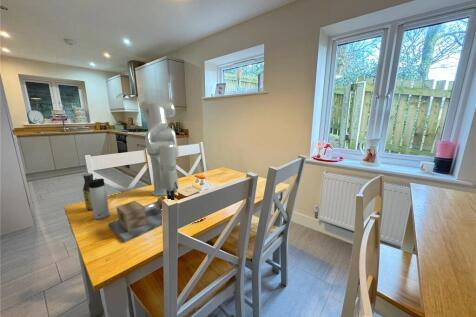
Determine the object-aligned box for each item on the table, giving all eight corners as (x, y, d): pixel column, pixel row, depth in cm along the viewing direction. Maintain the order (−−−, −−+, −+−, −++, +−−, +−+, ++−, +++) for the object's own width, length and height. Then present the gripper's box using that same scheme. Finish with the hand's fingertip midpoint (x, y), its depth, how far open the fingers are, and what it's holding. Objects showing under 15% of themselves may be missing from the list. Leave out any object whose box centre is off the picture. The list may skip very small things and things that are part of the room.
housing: (158, 207, 107) (156, 190, 104) (176, 218, 96) (175, 199, 93) (108, 226, 88) (105, 206, 86) (124, 242, 77) (121, 220, 75)
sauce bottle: (85, 208, 105) (79, 173, 101) (99, 205, 110) (93, 171, 105) (87, 212, 101) (80, 176, 96) (101, 208, 105) (96, 174, 101)
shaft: (161, 205, 101) (160, 195, 100) (167, 209, 98) (166, 198, 96) (132, 216, 90) (131, 204, 89) (138, 220, 87) (137, 208, 85)
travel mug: (102, 221, 93) (95, 181, 89) (91, 219, 94) (84, 180, 90) (113, 214, 99) (107, 177, 95) (102, 213, 100) (96, 176, 96)
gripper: (154, 166, 100) (157, 199, 104) (170, 172, 91) (172, 207, 95) (167, 164, 105) (169, 195, 109) (183, 168, 96) (185, 202, 100)
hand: (171, 201), depth 102 cm, fingers closed
